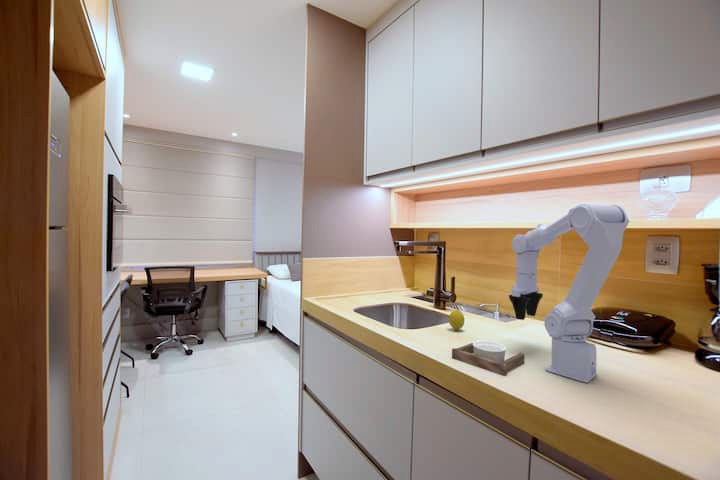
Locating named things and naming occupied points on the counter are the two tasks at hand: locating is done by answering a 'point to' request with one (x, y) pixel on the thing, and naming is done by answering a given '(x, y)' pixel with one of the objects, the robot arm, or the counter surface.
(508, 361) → the walnut rail
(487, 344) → the ramekin
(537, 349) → the counter surface
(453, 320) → the lemon
